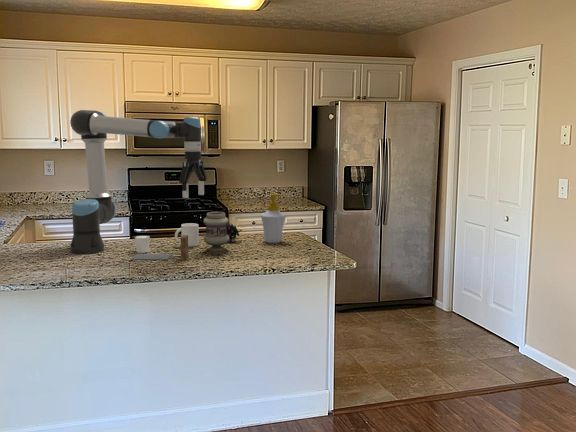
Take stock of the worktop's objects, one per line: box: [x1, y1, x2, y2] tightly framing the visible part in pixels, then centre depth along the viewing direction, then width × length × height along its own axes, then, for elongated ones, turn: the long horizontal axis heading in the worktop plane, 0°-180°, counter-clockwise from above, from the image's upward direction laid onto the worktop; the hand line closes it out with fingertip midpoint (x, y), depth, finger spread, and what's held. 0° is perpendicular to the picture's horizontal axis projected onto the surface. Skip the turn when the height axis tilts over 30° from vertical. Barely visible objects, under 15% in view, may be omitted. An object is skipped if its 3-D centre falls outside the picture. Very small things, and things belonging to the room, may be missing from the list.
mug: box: [174, 222, 200, 248], centre depth 278 cm, size 12×8×10 cm
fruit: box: [226, 222, 243, 243], centre depth 288 cm, size 10×11×15 cm
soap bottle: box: [260, 193, 287, 244], centre depth 288 cm, size 13×13×25 cm
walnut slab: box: [180, 235, 189, 261], centre depth 250 cm, size 2×6×10 cm, turn 0°
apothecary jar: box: [203, 211, 230, 254], centre depth 266 cm, size 12×12×18 cm
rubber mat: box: [130, 253, 173, 261], centre depth 253 cm, size 16×10×1 cm, turn 90°
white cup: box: [134, 235, 151, 254], centre depth 264 cm, size 7×7×7 cm
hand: (193, 196), depth 268 cm, fingers open, 13 cm apart
